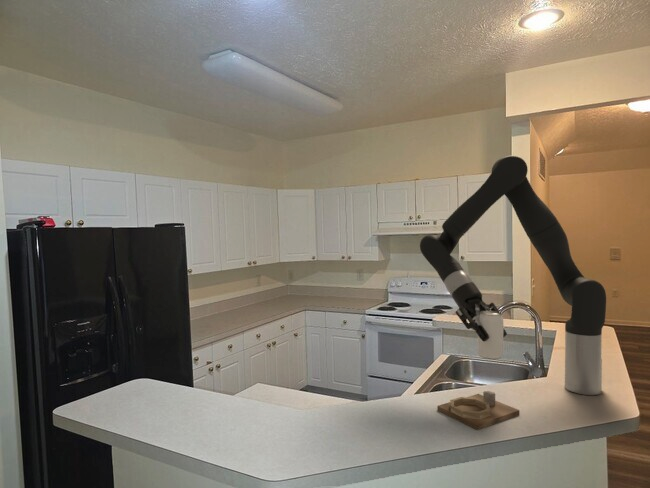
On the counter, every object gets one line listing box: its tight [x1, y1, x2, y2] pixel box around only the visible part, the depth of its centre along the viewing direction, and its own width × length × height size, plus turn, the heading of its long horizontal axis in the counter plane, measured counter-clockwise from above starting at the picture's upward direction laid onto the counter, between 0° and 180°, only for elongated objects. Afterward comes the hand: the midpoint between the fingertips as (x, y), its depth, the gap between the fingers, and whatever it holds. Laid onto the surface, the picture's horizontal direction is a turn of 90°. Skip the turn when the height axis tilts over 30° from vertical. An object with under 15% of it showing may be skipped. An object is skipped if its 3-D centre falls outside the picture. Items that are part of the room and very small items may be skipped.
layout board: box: [436, 390, 520, 431], centre depth 111 cm, size 16×13×4 cm
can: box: [477, 311, 504, 360], centre depth 117 cm, size 6×6×12 cm
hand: (495, 337), depth 115 cm, fingers closed on can, 6 cm apart
